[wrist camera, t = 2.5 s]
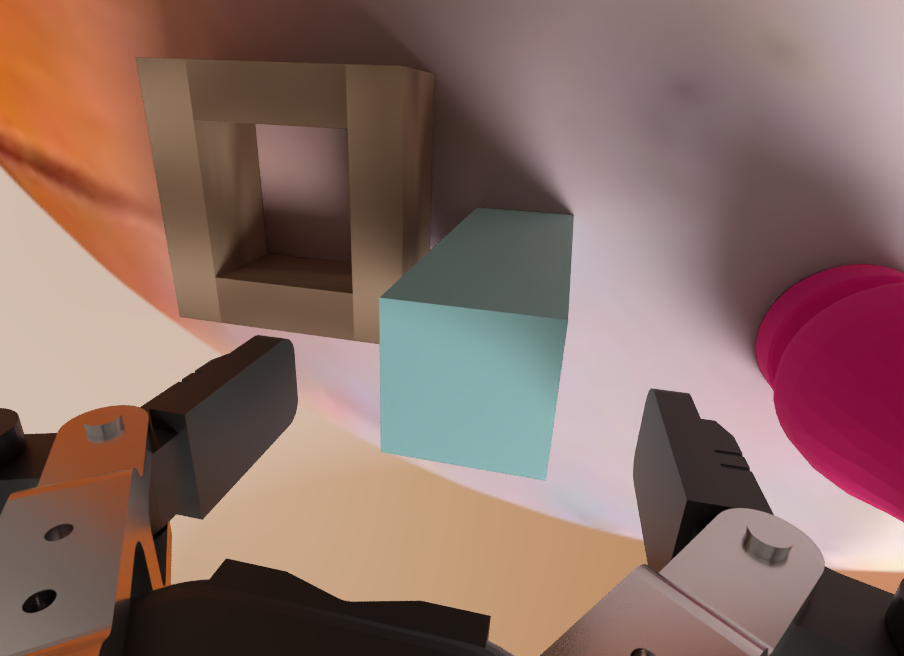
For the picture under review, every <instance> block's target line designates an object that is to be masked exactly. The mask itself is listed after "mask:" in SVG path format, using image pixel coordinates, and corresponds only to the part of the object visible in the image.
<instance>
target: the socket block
mask: <svg viewBox="0 0 904 656" xmlns="http://www.w3.org/2000/svg"><path fill="white" fill-rule="evenodd" d="M136 61H137V67H138V73H139V79H140V85H141V91H142V97H143V103H144V108H145V114H146V120H147V126H148V132H149V138H150V144H151V150H152V156H153V162H154V167H155V173H156V179H157V185H158V191H159V197H160V203H161V209H162V215H163V220H164V226H165V232H166V238H167V244H168V250H169V256H170V262H171V268H172V273H173V279H174V285H175V291H176V297H177V303H178V309H179V315H180V317H183V318H191V319H198V320H206V321H213V322H220V323H228V324H235V325H242V326H250V327H257V328H264V329H272V330H279V331H286V332H294V333H301V334H309V335H316V336H323V337H331V338H338V339H345V340H353V341H360V342H367V343H375V344H380V322H379V297H380V296H382V295H383V294H384V293H385V292H386V291H387V290H388V289H389V288H390V287H391V286H392V285H393V284H395V283H396V282H397V281H398V280H399V279H400V278H401V277H402V276H403V275H404V274H405V273H406V272H408V271H409V270H410V269H411V268H412V267H413V266H414V265H415V264H416V263H417V262H418V261H419V260H421V259H422V258H423V257H424V256H425V255H426V254H427V253H428V252H429V251H430V220H431V183H432V146H433V109H434V74H432V73H428V72H425V71H421V70H417V69H413V68H410V67H406V66H391V65H360V64H329V63H298V62H267V61H235V60H204V59H173V58H142V57H136ZM255 124H271V125H288V126H306V127H324V128H341V129H348V160H349V191H350V223H351V254H352V263H349V262H339V261H330V260H321V259H311V258H302V257H293V256H283V255H274V254H267V244H266V234H265V223H264V213H263V202H262V192H261V181H260V171H259V161H258V150H257V140H256V129H255Z"/></svg>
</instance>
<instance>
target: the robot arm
mask: <svg viewBox="0 0 904 656" xmlns="http://www.w3.org/2000/svg"><path fill="white" fill-rule="evenodd" d="M297 404H298V395H297V382H296V368H295V354H294V347H293V344H292V342H291V341H290V340H289V339H283V338H276V337H268V336H261V335H257V336H254V337H253V338H251V339H250V340H248V341H247V342H245V343H244V344H243V345H241V346H240V347H238V348H237V349H235V350H234V351H232V352H231V353H229V354H226V355H224V356H221V357H218V358H215V359H213V360H211V361H209V362H208V363H206V364H205V365H203V366H202V367H200V368H199V369H197V370H196V371H195V373H191V374H190V375H188V376H187V377H185V378H184V379H182V382H178V383H176V384H174V385H173V386H171V387H170V388H168V389H167V390H165V391H164V392H163V393H161V394H160V395H158V396H156V397H155V398H154V399H152V400H150V401H149V402H147V403H146V404H144V405H143V406H141V407H136V406H129V405H118V406H109V407H104V408H99V409H95V410H92V411H89V412H86V413H84V414H81V415H79V416H77V417H75V418H73V419H71V420H70V421H68V422H67V423H65V424H64V425H63V426H62V427H61V428H60V430H59V431H58V433H49V434H48V433H47V434H24V432H23V429H22V426H21V422H20V419H19V416H18V414H17V413H16V412H15V411H12V410H10V409H4V408H3V409H2V408H0V656H514V655H512V654H511V653H509V652H507V651H506V650H504V649H503V648H501V647H500V646H498V645H495V644H494V643H492V642H490V641H488V637H489V627H490V617H491V616H488V615H483V614H479V613H474V612H470V611H465V610H461V609H456V608H451V607H447V606H442V605H438V604H433V603H428V602H424V601H376V602H375V601H373V602H371V601H370V602H349V601H343V600H341V599H338V598H336V597H334V596H332V595H331V594H329V593H327V592H325V591H323V590H321V589H319V588H317V587H315V586H313V585H311V584H309V583H307V582H306V581H304V580H302V579H300V578H298V577H296V576H294V575H292V574H290V573H288V572H286V571H281V570H277V569H271V568H267V567H263V566H258V565H254V564H249V563H244V562H240V561H235V560H230V559H226V560H225V561H224V562H223V563H222V564H221V566H220V567H219V568H218V569H217V571H216V572H215V573H214V574H213V576H212V577H211V578H210V580H197V581H189V582H184V583H178V584H174V585H171V556H172V553H171V552H172V532H171V526H170V520H171V519H172V518H173V517H174V516H175V515H176V514H178V515H183V516H188V517H193V518H198V519H203V518H204V517H205V516H206V515H207V514H208V513H209V512H210V511H211V510H212V509H213V508H214V506H215V505H216V504H217V503H218V502H219V501H220V500H221V499H222V498H223V497H224V496H225V495H226V494H227V492H228V491H229V490H230V489H231V488H232V487H233V486H234V485H235V484H236V483H237V482H238V480H240V478H241V477H242V476H243V475H244V474H245V473H246V472H247V471H248V470H249V469H250V468H251V467H252V465H253V464H254V463H255V462H256V461H257V460H258V459H259V458H260V457H261V455H263V454H264V452H265V451H266V450H267V449H268V448H269V447H270V446H271V445H272V444H273V443H274V442H275V441H276V439H277V438H278V437H279V436H280V435H281V434H282V433H283V432H284V431H285V430H286V429H287V427H288V426H289V425H290V424H291V423H292V421H293V419H294V416H295V414H296V410H297ZM633 479H634V487H635V492H636V498H637V504H638V510H639V516H640V522H641V527H642V533H643V539H644V545H645V551H646V556H647V562H648V565H646V564H643V565H640V566H638V567H637V568H635V569H634V570H633V571H632V572H631V573H630V574H629V575H627V576H626V577H625V578H624V579H623V580H622V581H621V582H620V583H619V584H618V585H616V586H615V587H614V588H613V589H612V590H611V591H610V592H609V593H608V594H607V595H606V596H605V597H603V598H602V599H601V600H600V601H599V602H598V603H597V604H596V605H595V606H594V607H593V608H592V609H591V610H589V611H588V612H587V613H586V614H585V615H584V616H583V617H582V618H581V619H580V620H578V621H577V622H576V623H575V624H574V625H573V626H572V627H571V628H570V629H569V630H568V631H566V632H565V633H564V634H563V635H562V636H561V637H560V638H559V639H558V640H557V641H556V642H555V643H553V644H552V645H551V646H550V647H549V648H548V649H547V650H546V651H545V652H544V653H542V654H541V655H540V656H904V579H903V580H902V581H901V583H900V585H899V587H898V589H897V591H896V594H895V595H894V594H892V593H889V592H887V591H884V590H881V589H879V588H876V587H873V586H871V585H868V584H866V583H863V582H860V581H858V580H855V579H852V578H850V577H847V576H845V575H842V574H840V573H837V572H835V571H833V570H831V569H829V568H827V567H825V562H824V558H823V555H822V553H821V551H820V549H819V548H818V547H817V545H816V544H815V543H814V542H813V541H812V540H811V539H810V538H809V537H808V536H807V535H806V534H805V533H803V532H802V531H801V530H799V529H798V528H797V527H795V526H794V525H792V524H790V523H788V522H787V521H785V520H783V519H781V518H779V517H776V516H774V514H773V512H772V510H771V508H770V506H769V505H768V503H767V501H766V499H765V497H764V495H763V493H762V491H761V489H760V487H759V485H758V483H757V481H756V479H755V477H754V475H753V473H752V472H750V467H749V465H748V464H747V462H746V460H745V458H744V457H742V452H741V450H740V448H739V446H738V444H737V442H736V440H735V438H734V437H733V436H732V435H731V434H730V433H729V432H728V431H726V430H725V429H724V428H723V427H722V426H721V425H719V424H718V423H717V422H716V421H712V420H705V419H701V418H700V416H699V414H698V411H697V409H696V407H695V404H694V402H693V400H692V397H691V395H690V394H689V393H682V392H674V391H667V390H659V389H652V388H651V389H650V390H649V392H648V395H647V399H646V403H645V408H644V413H643V417H642V422H641V427H640V432H639V436H638V441H637V446H636V451H635V457H634V467H633Z"/></svg>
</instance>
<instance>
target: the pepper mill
mask: <svg viewBox="0 0 904 656" xmlns="http://www.w3.org/2000/svg"><path fill="white" fill-rule="evenodd" d="M756 356H757V362H758V365H759V368H760V371H761V372H762V374H763V376H764V378H765V379H766V381H767V382H768V383H769V385H770V386H771V388H772V389H773V391H774V404H775V409H776V414H777V417H778V419H779V422H780V425H781V427H782V429H783V430H784V432H785V434H786V436H787V437H788V439H789V440H790V441H791V442H792V443H793V445H794V446H795V447H796V448H797V449H798V451H799V452H800V453H801V454H802V455H803V456H804V458H805V459H806V460H807V461H808V462H809V464H810V465H811V466H812V467H813V468H814V469H815V470H817V471H818V472H819V473H821V474H822V475H823V476H825V477H826V478H827V479H829V480H830V481H831V482H833V483H834V484H835V485H836V486H838V487H839V488H841V489H842V490H844V491H845V492H846V493H848V494H849V495H851V496H853V497H855V498H858V499H860V500H862V501H864V502H866V503H868V504H870V505H872V506H874V507H876V508H878V509H880V510H882V511H884V512H886V513H888V514H890V515H892V516H893V517H895V518H897V519H899V520H900V521H902V522H904V273H903V272H900V271H898V270H895V269H891V268H888V267H885V266H878V265H871V264H855V265H845V266H840V267H835V268H830V269H827V270H824V271H821V272H818V273H816V274H813V275H811V276H809V277H807V278H805V279H804V280H802V281H800V282H798V283H796V284H795V285H794V286H792V287H791V288H789V289H788V290H787V291H786V292H785V293H784V294H783V295H781V296H780V297H779V298H778V299H777V300H776V302H775V303H774V304H773V305H772V306H771V308H770V309H769V311H768V312H767V314H766V315H765V317H764V319H763V321H762V323H761V325H760V328H759V331H758V335H757V341H756Z"/></svg>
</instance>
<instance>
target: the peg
mask: <svg viewBox="0 0 904 656" xmlns="http://www.w3.org/2000/svg"><path fill="white" fill-rule="evenodd" d="M573 218H574V215H566V214H553V213H541V212H529V211H517V210H505V209H492V208H480V207H477V208H476V209H475V210H474V211H472V212H471V213H470V214H469V215H468V216H467V217H466V218H465V219H464V220H463V221H462V222H461V223H459V224H458V225H457V226H456V227H455V228H454V229H453V230H452V231H451V232H450V233H449V234H448V235H446V236H445V237H444V238H443V239H442V240H441V241H440V242H439V243H438V244H437V245H436V246H435V247H433V248H432V249H431V250H430V251H429V252H428V253H427V254H426V255H425V256H424V257H423V258H422V259H421V260H419V261H418V262H417V263H416V264H415V265H414V266H413V267H412V268H411V269H410V270H409V271H408V272H406V273H405V274H404V275H403V276H402V277H401V278H400V279H399V280H398V281H397V282H396V283H395V284H393V285H392V286H391V287H390V288H389V289H388V290H387V291H386V292H385V293H384V294H383V295H382V296H380V297H379V322H380V409H381V452H385V453H390V454H396V455H402V456H407V457H413V458H419V459H424V460H430V461H436V462H441V463H447V464H453V465H459V466H464V467H470V468H476V469H481V470H487V471H493V472H498V473H504V474H510V475H516V476H521V477H527V478H533V479H538V480H544V481H546V475H547V468H548V461H549V454H550V447H551V439H552V432H553V425H554V418H555V410H556V403H557V396H558V389H559V381H560V374H561V367H562V360H563V352H564V345H565V338H566V331H567V324H568V310H569V292H570V274H571V255H572V237H573Z"/></svg>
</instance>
